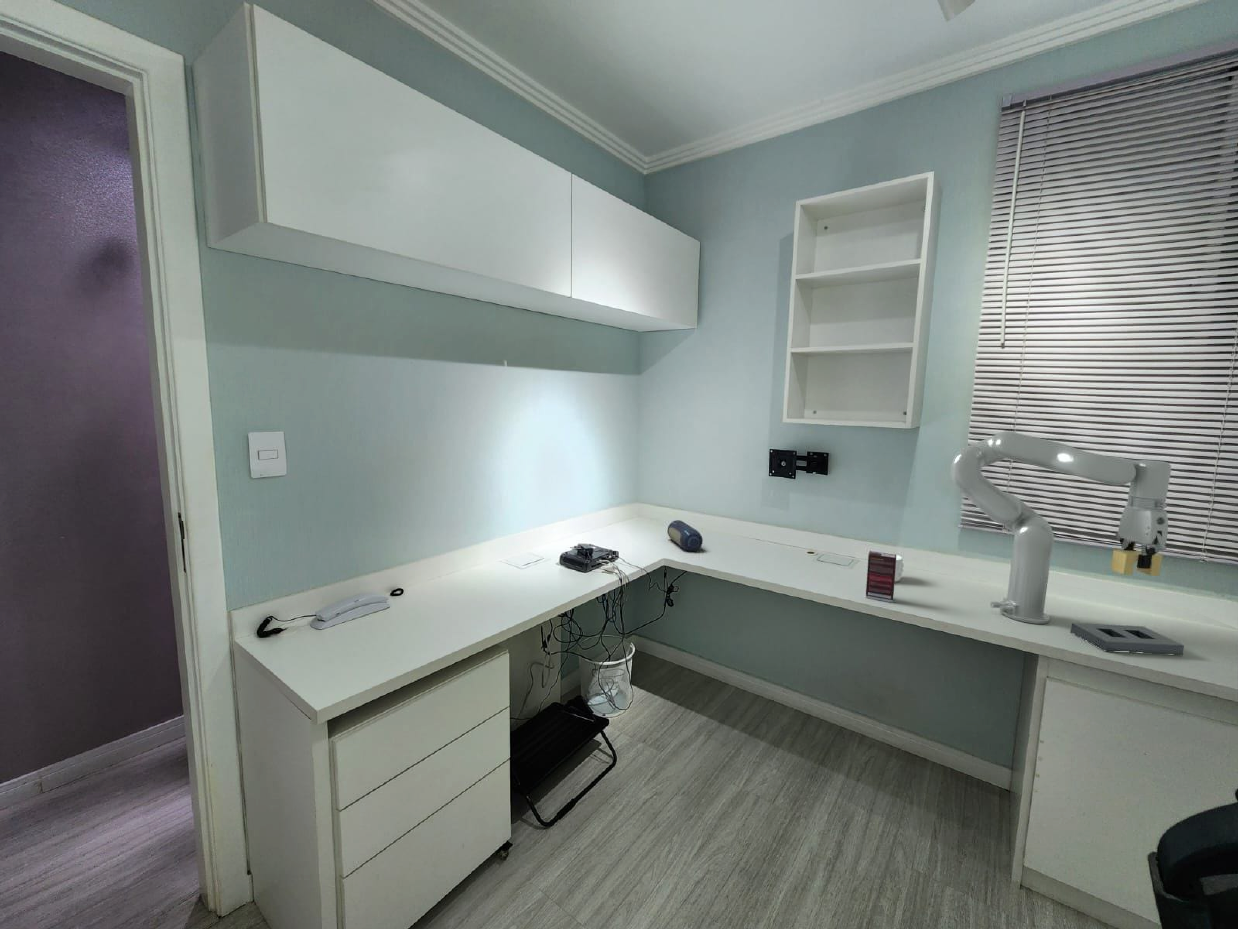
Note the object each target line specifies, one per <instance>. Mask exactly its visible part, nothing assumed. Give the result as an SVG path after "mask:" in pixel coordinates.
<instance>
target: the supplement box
mask: <svg viewBox="0 0 1238 929" xmlns="http://www.w3.org/2000/svg"><path fill="white" fill-rule="evenodd" d="M889 553H890V552H882V551H881V552H880V551H875V550H874V551H873V550H870V551H869V552H868V555H867V557H868V558H867V571H866V586H865V598H866V599H871V600H876V601H877V600H878V601H884V602H888V603H893V602H894V592H895V583H896V582H895V569H896V555H897V553H896V554H895V553H891V554H889Z"/></svg>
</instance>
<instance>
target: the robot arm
mask: <svg viewBox="0 0 1238 929" xmlns="http://www.w3.org/2000/svg"><path fill="white" fill-rule="evenodd" d="M1005 459H1006V460H1011V461H1014V462H1019V463H1023V464H1027V465H1031V466H1035V467H1039V468H1043V469H1046V470H1050V471H1053V472H1057V473H1063V474H1067V475H1072V476H1075V477H1079V478H1083V479H1087V480H1091V481H1094V482H1095V481H1096V482H1099V483H1101V484H1102V483H1103V484H1106V485H1107V484H1108V485H1110V486H1111V485H1112V486H1124V485H1127V484H1129V483H1130V484H1129V490H1128V496H1127V503H1126V505H1125V506H1124V507H1123V512H1122V513H1121V516H1120V519H1119V520H1120V521H1119V525H1118V529H1117V532H1116V533H1115V536H1114V537H1116V539H1117V540H1118V541H1119V542H1120V545H1121V550H1127V551H1137V549H1135V548H1136V546H1137V543H1138V544H1140V549H1141V550H1140V551H1141V554H1139V558H1138V561H1134V563H1135V562H1136V563H1137V564H1136V569H1137V568H1142V569H1150V566H1151V560H1152V556H1154V555H1155V554H1159V552H1163V551H1165V550H1167V547H1166V544H1167V540H1168V530H1169V529H1168V528H1169V519H1168V518H1169V516H1168V512H1167V511H1166V510H1165V508H1167V507H1168V504H1167V503H1166V502H1167V496H1168V490H1169V489H1168V488H1169V483H1170V479H1171V474H1172V473H1171V472H1172V465H1171V464H1170V463H1169V462H1166V461H1162V460H1153V459H1152V460H1151V459H1150V460H1149V459H1140V460H1138V459H1130V458H1124V457H1118V456H1107V455H1103V454H1099V453H1094V452H1090V451H1086V450H1083V449H1079V448H1075V447H1073V446H1071V445H1068V444H1065V443H1061V442H1058V441H1054V440H1053V441H1052V440H1048V439H1044V438H1039V437H1037V436H1030V435H1026V434H1022V433H1018V432H1015V431H1010V430H1005V431H1002V432H999V433H997V434H995V435H992V436H990V437H987V438H985V439H983V440H979V441H977V442H975V443H972V444H970V445H967V446H965V447H963V448H960V449H959V450H958V451H957V452H956V453H955V455H954V457H953V459H952V462H951V465H950V469H949V470H950V471H949V475H950V478H951V482H952V484H953V485H954V487H955V488H956V489H957V491H959V493H961V495H963V496H964V497H965V498H967V500H969V501H970V502H971V503H972V504H973V505H974V506H976V507H977V508H978V509H979V510H980V511H981V512H983V513H984V514H985V515H986V516H987V517H988V518H989V519H990V520H992V522H995V523H997V524H999V525H1000V524H1001V525H1002V526H1003V527H1005V528H1006V529H1007V530H1008V531H1010V532H1011V533H1012V534H1013V535H1014V537H1013V545H1012V551H1011V560H1010V569H1009V570H1010V572H1009V579H1008V588H1007V595H1006V596H1007V597H1006V598H1003V600H1001V601H990V605H989V606H990V608H992V609H993V608H994V609H995V608H997V609H999V612H1000V614H1002V616H1006V617H1008V618H1009V619H1013V620H1015V621H1019V622H1023V623H1028V624H1034V625H1045V624H1048V623H1050V617H1049V616H1048V615H1047V614H1046V613H1044V612H1045V606H1046V597H1047V589H1048V583H1049V575H1050V574H1049V573H1050V566H1051V559H1052V553H1053V549H1054V543H1055V535H1054V531H1053V529H1052V526H1051V524H1050V523H1049V522H1048V521H1047V520H1046V518H1043V517H1042V516H1041V515H1040V514H1039V513H1038V512H1036V511H1035V510H1034V509H1033V508H1031V507H1030V506H1029V505H1027V504H1026V503H1025V502H1024V501H1023V500H1021V499H1020V498H1018V497H1017V496H1016V495H1015V494H1012V493H1010V492H1005V491H1003V490H1002V489H1000V488H999V487H998V486H996V485H995V484H994V483H993V482H991V480H989V479H987V478H986V477H985V476H984V475H983V473H982V468H984V467H987V466H990V465H993V464H995V463H997V462H998V463H999V462H1000V461H1003V460H1005Z"/></svg>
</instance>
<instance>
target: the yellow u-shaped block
mask: <svg viewBox="0 0 1238 929" xmlns="http://www.w3.org/2000/svg"><path fill="white" fill-rule="evenodd" d="M1139 554H1141V550H1136V551H1127V550H1123V549H1121V550H1120V549H1113V552H1112V559H1111V565H1110V570H1111V571H1114V572H1115V573H1119V574H1122V575H1130V576H1131V575H1133V573H1134V567H1135V562H1138V558H1139ZM1134 561H1135V562H1134ZM1162 561H1163V554H1159V553H1156V554H1155V555H1154V556H1152V560H1151V566H1150V569H1142V568H1137V567H1136V572H1139V573H1142V574H1145V575H1148V576H1160V574H1161V573H1160V572H1161V568H1162Z"/></svg>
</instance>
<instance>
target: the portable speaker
mask: <svg viewBox="0 0 1238 929" xmlns="http://www.w3.org/2000/svg"><path fill="white" fill-rule="evenodd" d="M667 535H668V537H669V538H670V539H671V540H673V541H674V542H675V543H676V544H677V545H679V546H680V547H681V548H683V549H684V550H685V551H688V552H695V551H698V550H699V549H701V548H702V546H703V540H704V538H703V536H702V535H701V533H700V532H699V530H697V529H695V528H693V526H691V525H689V524H687V523H686V522H684V521H682V520H679V519H677V520H676V519H675V520H673V521H671V522H670V523H669V525H668V527H667Z"/></svg>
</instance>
